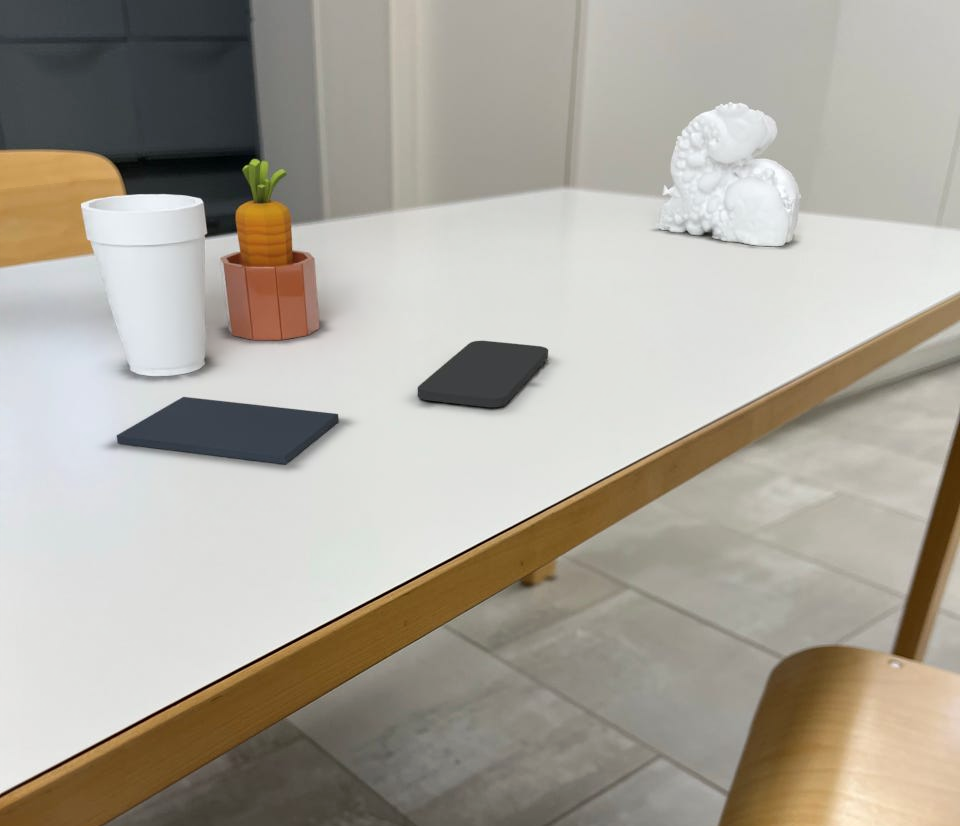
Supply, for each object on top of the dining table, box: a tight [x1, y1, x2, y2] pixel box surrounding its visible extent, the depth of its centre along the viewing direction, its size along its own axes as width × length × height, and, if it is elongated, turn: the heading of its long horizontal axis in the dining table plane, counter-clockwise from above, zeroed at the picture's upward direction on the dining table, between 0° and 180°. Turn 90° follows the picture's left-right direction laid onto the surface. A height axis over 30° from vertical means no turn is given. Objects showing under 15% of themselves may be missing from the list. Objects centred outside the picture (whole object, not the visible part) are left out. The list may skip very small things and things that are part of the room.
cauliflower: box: [657, 101, 802, 247], centre depth 139 cm, size 19×20×20 cm
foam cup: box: [80, 193, 208, 377], centre depth 85 cm, size 10×9×13 cm
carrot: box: [235, 158, 293, 266], centre depth 95 cm, size 5×5×15 cm
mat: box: [116, 396, 340, 465], centre depth 74 cm, size 13×9×1 cm
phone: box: [417, 340, 549, 408], centre depth 85 cm, size 7×1×15 cm
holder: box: [219, 249, 320, 341], centre depth 97 cm, size 8×9×6 cm
